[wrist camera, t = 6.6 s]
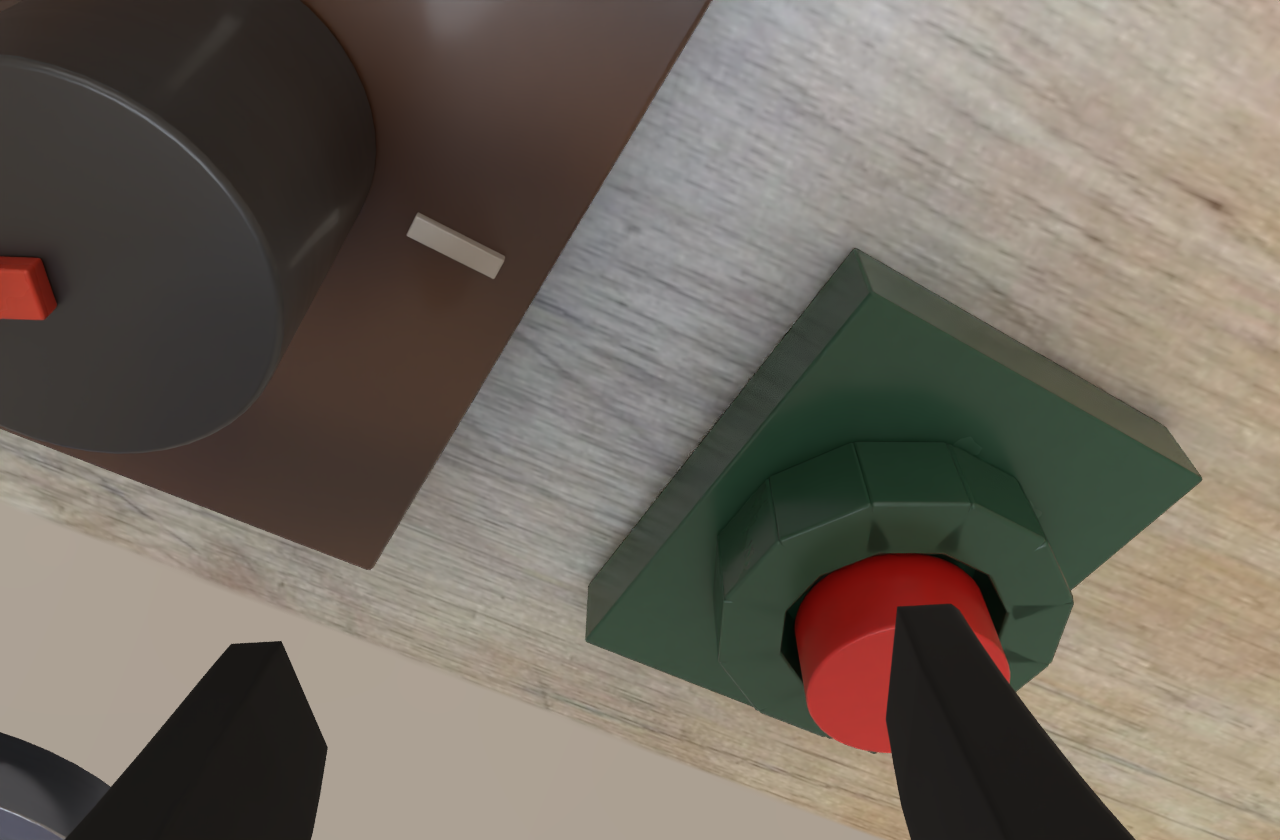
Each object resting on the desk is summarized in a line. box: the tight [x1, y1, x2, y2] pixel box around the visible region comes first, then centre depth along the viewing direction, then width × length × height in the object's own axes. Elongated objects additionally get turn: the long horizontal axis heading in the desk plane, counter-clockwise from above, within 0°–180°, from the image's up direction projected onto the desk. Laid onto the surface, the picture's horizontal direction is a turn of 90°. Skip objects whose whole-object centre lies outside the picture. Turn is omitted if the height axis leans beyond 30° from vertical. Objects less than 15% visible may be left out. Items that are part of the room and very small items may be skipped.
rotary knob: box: [0, 0, 376, 454], centre depth 12 cm, size 4×4×5 cm
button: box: [795, 553, 1010, 753], centre depth 18 cm, size 4×4×2 cm
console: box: [0, 0, 712, 570], centre depth 15 cm, size 14×10×3 cm
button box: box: [585, 249, 1202, 754], centre depth 20 cm, size 10×8×4 cm
